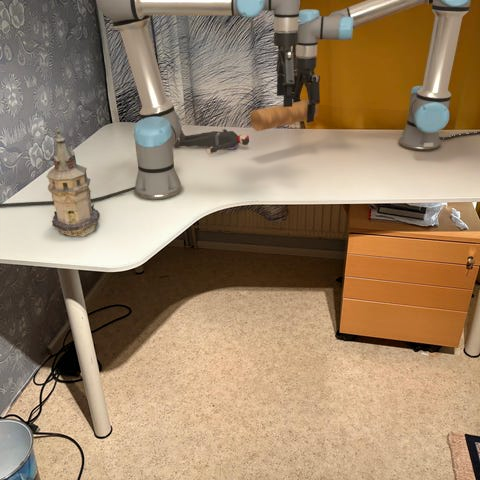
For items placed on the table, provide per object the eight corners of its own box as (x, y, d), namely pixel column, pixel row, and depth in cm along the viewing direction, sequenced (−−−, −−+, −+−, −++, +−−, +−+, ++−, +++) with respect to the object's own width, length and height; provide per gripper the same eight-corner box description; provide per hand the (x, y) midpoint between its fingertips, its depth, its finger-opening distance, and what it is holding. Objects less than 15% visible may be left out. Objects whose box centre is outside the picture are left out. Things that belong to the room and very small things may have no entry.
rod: (261, 133, 191) (262, 112, 187) (250, 128, 196) (250, 108, 192) (317, 121, 203) (318, 101, 199) (305, 116, 208) (306, 97, 205)
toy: (185, 122, 227) (254, 122, 220) (186, 136, 230) (255, 137, 224) (165, 142, 205) (242, 143, 198) (167, 157, 208) (243, 159, 201)
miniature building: (80, 214, 164) (63, 117, 149) (111, 225, 157) (96, 125, 142) (44, 231, 154) (22, 130, 140) (75, 244, 147) (55, 139, 133)
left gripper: (306, 37, 153) (303, 111, 164) (291, 25, 175) (289, 90, 185) (280, 38, 153) (278, 112, 163) (268, 26, 174) (267, 91, 185)
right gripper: (333, 59, 187) (328, 123, 198) (296, 51, 202) (294, 111, 213) (316, 62, 183) (313, 127, 194) (280, 53, 198) (279, 114, 209)
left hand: (284, 100), depth 174 cm, fingers open, 13 cm apart
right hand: (303, 118), depth 204 cm, fingers closed on rod, 7 cm apart
